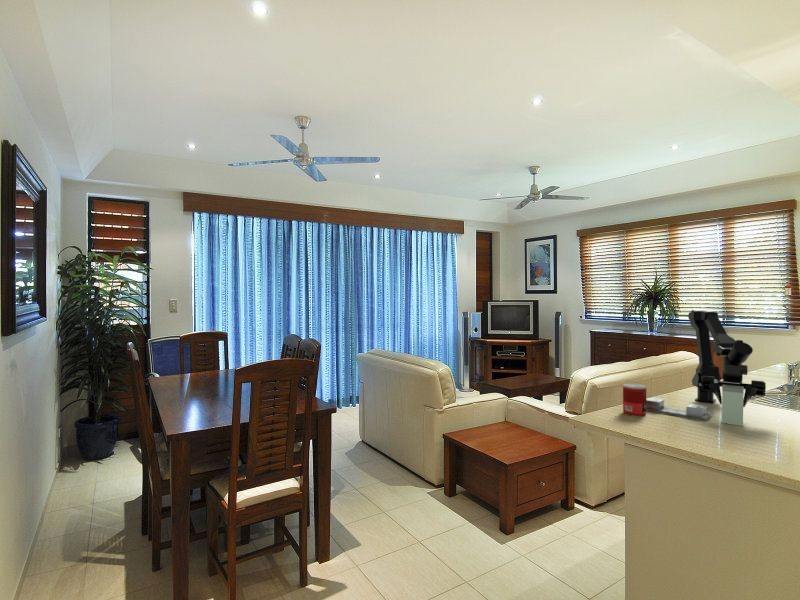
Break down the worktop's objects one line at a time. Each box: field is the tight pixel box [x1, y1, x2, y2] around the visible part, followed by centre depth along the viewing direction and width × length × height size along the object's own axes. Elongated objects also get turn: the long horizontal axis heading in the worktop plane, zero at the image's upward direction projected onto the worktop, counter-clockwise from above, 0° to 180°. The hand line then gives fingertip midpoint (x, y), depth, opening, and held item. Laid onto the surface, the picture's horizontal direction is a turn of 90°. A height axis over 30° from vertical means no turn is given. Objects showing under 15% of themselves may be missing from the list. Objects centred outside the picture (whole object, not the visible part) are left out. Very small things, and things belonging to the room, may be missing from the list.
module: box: [721, 384, 745, 427], centre depth 159 cm, size 5×6×13 cm
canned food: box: [622, 382, 647, 417], centre depth 172 cm, size 8×8×11 cm
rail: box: [646, 397, 712, 421], centre depth 172 cm, size 8×22×4 cm, turn 44°
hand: (732, 405), depth 158 cm, fingers closed on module, 6 cm apart
